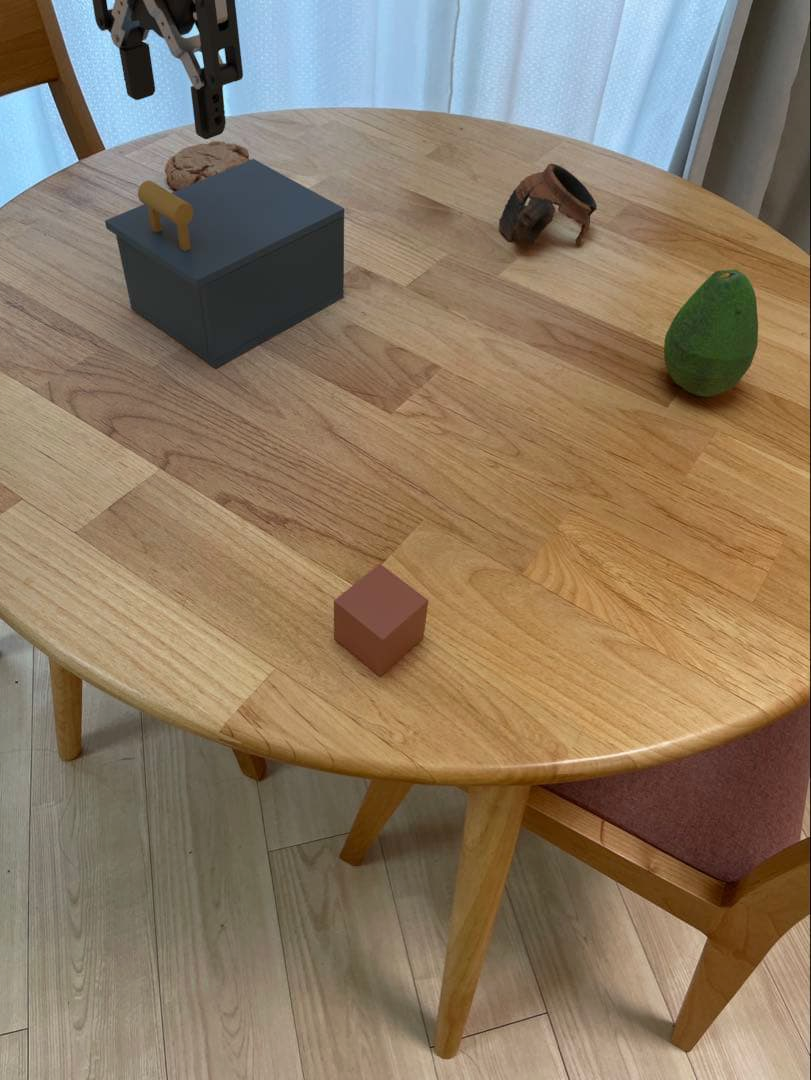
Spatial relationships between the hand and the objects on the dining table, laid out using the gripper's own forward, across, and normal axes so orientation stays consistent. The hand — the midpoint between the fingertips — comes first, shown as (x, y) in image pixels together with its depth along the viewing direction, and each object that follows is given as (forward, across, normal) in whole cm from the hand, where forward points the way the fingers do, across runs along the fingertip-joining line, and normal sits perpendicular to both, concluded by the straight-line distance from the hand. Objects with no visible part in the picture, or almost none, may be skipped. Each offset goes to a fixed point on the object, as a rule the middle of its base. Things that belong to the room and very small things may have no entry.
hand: (175, 115), depth 68 cm
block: (+21, +36, -13) cm, 44 cm away
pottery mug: (+21, +11, +39) cm, 46 cm away
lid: (+12, -2, +6) cm, 13 cm away
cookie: (+21, -24, +20) cm, 37 cm away
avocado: (+21, +37, +29) cm, 51 cm away
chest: (+21, -2, +6) cm, 22 cm away
